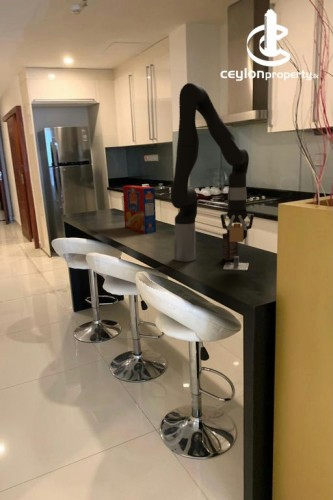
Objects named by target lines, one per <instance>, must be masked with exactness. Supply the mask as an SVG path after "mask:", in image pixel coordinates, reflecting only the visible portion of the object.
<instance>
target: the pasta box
mask: <svg viewBox="0 0 333 500" xmlns="http://www.w3.org/2000/svg"><path fill="white" fill-rule="evenodd" d="M122 197H123V215H124V216H123V218H124V228H125V229H128V230H131V231H134V232H137V233H140V234H143V235H147V234H148V233H149V234H153V232H156V233H157V222H156V221H157V218H156V214H157V213H156V188H155V187H151V186H141V185H131V184H130V185H122Z"/></svg>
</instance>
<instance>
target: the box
mask: <svg viewBox="0 0 333 500" xmlns="http://www.w3.org/2000/svg"><path fill="white" fill-rule="evenodd" d="M238 243H239V242H230V239H229V237H227V232H225V233H222V259H223V260H226V261H232V260H234V256H239V254H238V253H239V251H238V250H239V249H238V248H239V247H238V245H239V244H238Z"/></svg>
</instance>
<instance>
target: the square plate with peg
mask: <svg viewBox="0 0 333 500" xmlns="http://www.w3.org/2000/svg"><path fill="white" fill-rule="evenodd" d="M249 264H250V263H249V262H240V256H239V255H238V256H234V259H233V262H232V261H229V262H228V261H225V264H224V265H223V268H222V270H223V271H224V270H227V271H243V272H245V271H247V272H248V268H249Z"/></svg>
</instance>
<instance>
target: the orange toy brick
mask: <svg viewBox="0 0 333 500" xmlns="http://www.w3.org/2000/svg"><path fill="white" fill-rule="evenodd" d="M244 241H245V239H244V227H243V226H242V224H241V223H233V224H232V225H231V227H230V242H238V243H243V242H244Z"/></svg>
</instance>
